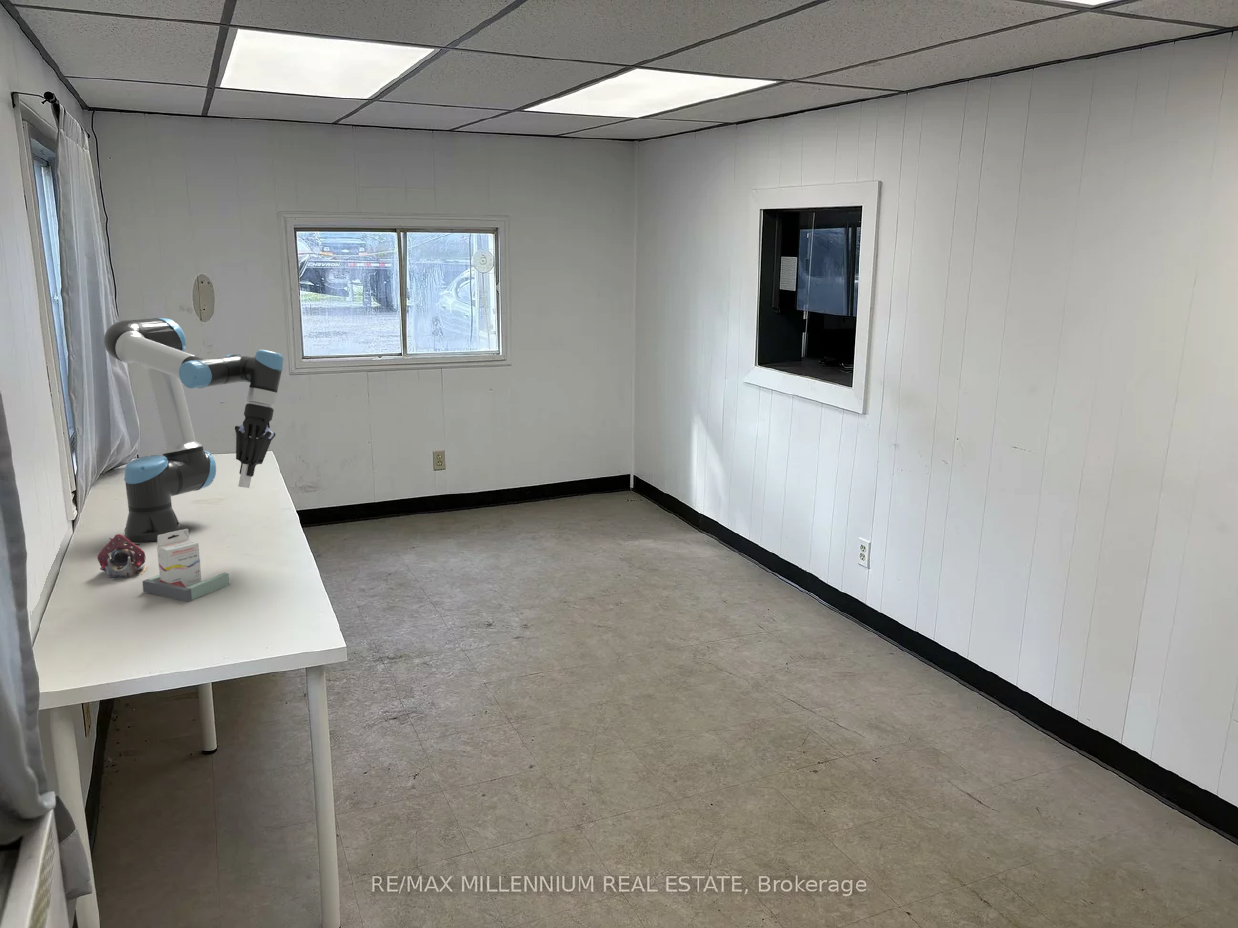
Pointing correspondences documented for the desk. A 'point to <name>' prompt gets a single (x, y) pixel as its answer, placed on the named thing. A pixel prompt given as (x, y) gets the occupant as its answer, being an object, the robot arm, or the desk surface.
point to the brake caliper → (121, 558)
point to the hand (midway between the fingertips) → (243, 487)
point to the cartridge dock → (181, 592)
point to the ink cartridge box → (178, 559)
